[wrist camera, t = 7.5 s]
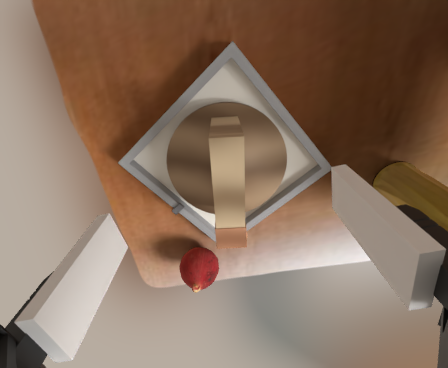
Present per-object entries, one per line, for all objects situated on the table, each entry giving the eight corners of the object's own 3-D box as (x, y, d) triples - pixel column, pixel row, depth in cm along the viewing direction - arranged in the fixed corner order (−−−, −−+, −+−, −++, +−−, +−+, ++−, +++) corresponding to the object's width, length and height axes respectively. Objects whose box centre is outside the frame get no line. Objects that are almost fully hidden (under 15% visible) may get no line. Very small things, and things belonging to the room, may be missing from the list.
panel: (231, 42, 26) (232, 40, 24) (327, 163, 33) (337, 173, 30) (123, 157, 32) (115, 165, 29) (224, 240, 39) (224, 253, 36)
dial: (158, 105, 28) (133, 124, 20) (289, 98, 28) (318, 114, 19) (176, 213, 35) (163, 261, 26) (281, 208, 34) (300, 254, 26)
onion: (217, 235, 38) (216, 275, 31) (219, 261, 41) (220, 304, 34) (180, 237, 38) (172, 277, 31) (186, 263, 41) (179, 306, 34)
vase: (397, 204, 36) (492, 282, 24) (363, 192, 35) (443, 267, 23) (425, 169, 34) (550, 236, 21) (389, 155, 33) (497, 217, 20)
